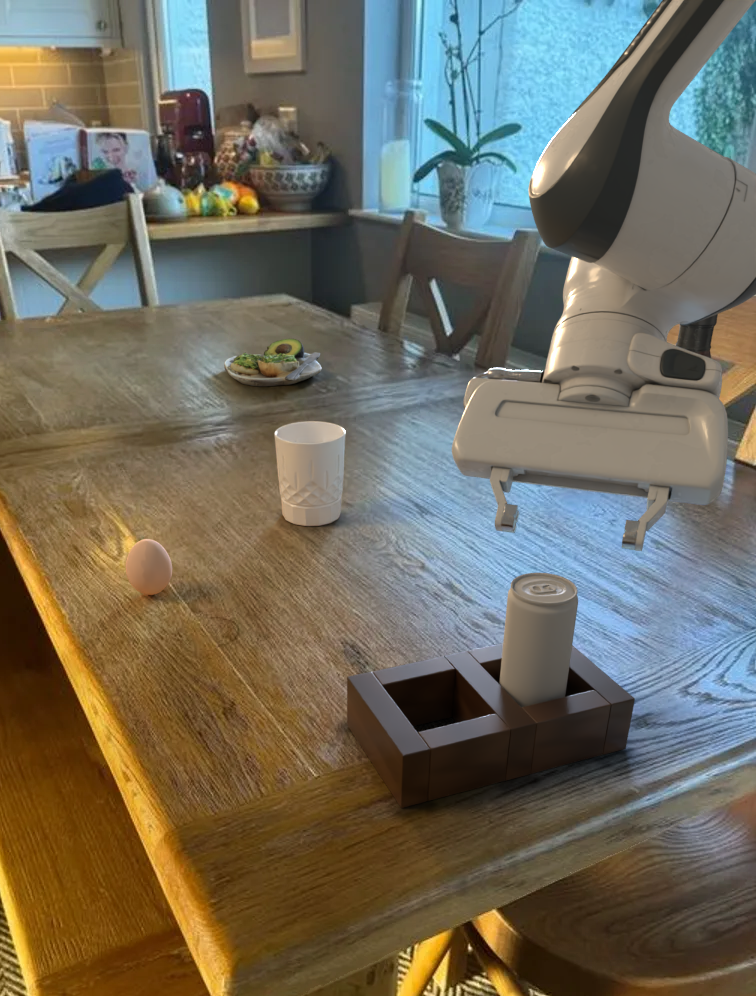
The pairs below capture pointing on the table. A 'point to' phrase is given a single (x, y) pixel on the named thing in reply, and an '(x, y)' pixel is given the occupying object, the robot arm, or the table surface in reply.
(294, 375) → the avocado toast plate
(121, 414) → the table surface
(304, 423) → the white cup
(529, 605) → the beverage can
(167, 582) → the egg
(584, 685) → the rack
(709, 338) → the sauce bottle
